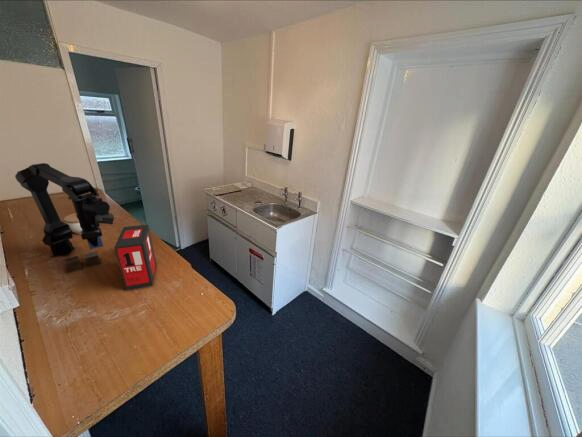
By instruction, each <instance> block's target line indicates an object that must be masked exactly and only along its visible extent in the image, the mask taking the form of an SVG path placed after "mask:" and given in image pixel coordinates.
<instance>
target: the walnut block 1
mask: <svg viewBox="0 0 582 437" xmlns="http://www.w3.org/2000/svg"><path fill="white" fill-rule="evenodd" d="M64 265H65V268H66V271H67V273H72V272H74V271H78V270H82V269H83V266H82V262H81V258H80V257H79V255H75V256H70V257H67V258H64Z"/></svg>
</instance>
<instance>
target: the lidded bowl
mask: <svg viewBox="0 0 582 437" xmlns="http://www.w3.org/2000/svg"><path fill="white" fill-rule="evenodd" d="M63 222H64V223H66V224H68V225H69V227H70V229H71V230H72V233H75V234H77V235H81V231H82V229H81V227H80V223H79V220H78V219H77V214H76V212H74V213H70V214H68V215H66V216H64V217H63Z"/></svg>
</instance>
